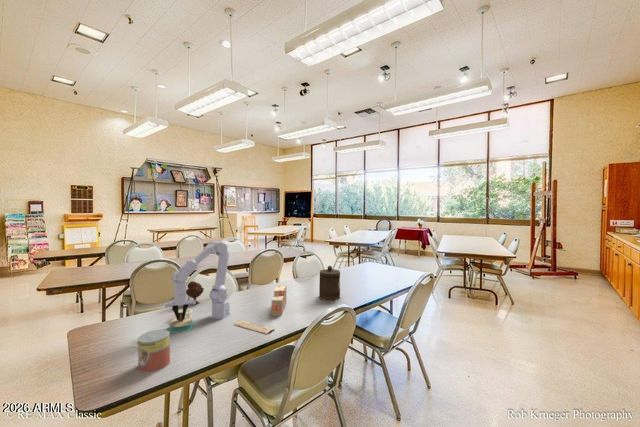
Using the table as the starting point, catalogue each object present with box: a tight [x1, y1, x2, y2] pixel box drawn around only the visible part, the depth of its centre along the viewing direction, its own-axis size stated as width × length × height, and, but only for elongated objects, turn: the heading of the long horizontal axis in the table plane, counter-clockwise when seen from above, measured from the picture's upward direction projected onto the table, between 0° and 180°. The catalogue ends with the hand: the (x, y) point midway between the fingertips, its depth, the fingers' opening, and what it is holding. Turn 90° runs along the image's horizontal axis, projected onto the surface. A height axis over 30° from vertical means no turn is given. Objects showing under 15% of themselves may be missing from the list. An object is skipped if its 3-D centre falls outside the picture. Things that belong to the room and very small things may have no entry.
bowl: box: [174, 308, 194, 319], centre depth 162 cm, size 9×9×4 cm
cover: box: [168, 312, 193, 327], centre depth 150 cm, size 11×11×5 cm
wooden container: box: [318, 265, 341, 301], centre depth 203 cm, size 15×15×22 cm
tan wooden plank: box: [233, 320, 276, 335], centre depth 152 cm, size 24×7×2 cm, turn 60°
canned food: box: [137, 329, 171, 374], centre depth 116 cm, size 11×11×12 cm
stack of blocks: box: [270, 284, 287, 316], centre depth 178 cm, size 21×6×12 cm, turn 179°
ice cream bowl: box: [186, 281, 205, 306], centre depth 188 cm, size 11×11×15 cm
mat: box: [166, 321, 195, 334], centre depth 150 cm, size 12×12×1 cm
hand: (180, 319), depth 150 cm, fingers closed on cover, 2 cm apart
